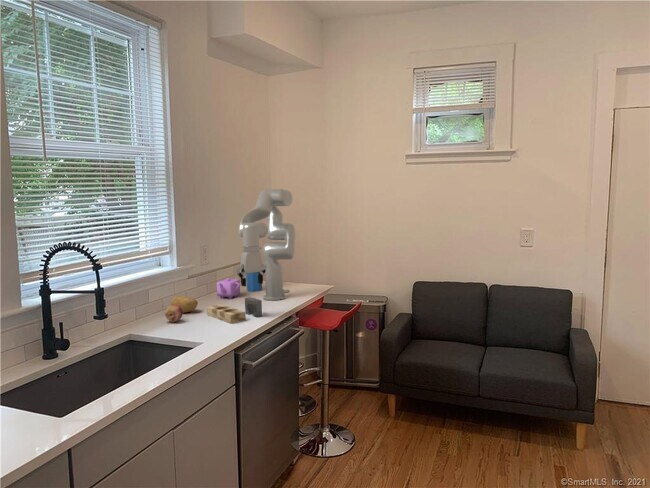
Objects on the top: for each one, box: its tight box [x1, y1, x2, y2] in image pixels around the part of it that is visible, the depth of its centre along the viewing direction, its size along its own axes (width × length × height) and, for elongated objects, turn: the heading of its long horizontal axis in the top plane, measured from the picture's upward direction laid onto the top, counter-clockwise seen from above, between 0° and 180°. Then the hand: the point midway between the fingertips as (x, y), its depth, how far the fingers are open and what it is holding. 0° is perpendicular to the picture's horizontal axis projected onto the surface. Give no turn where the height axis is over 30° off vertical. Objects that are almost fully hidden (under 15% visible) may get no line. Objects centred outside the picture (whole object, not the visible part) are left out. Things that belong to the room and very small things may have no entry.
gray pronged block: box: [244, 296, 263, 318], centre depth 242 cm, size 10×3×8 cm, turn 42°
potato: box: [170, 295, 198, 314], centre depth 250 cm, size 10×14×8 cm
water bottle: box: [245, 273, 263, 293], centre depth 299 cm, size 9×9×25 cm
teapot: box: [216, 277, 241, 300], centre depth 282 cm, size 15×13×11 cm
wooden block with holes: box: [206, 303, 246, 324], centre depth 238 cm, size 8×22×4 cm, turn 42°
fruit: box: [164, 304, 183, 323], centre depth 232 cm, size 8×8×8 cm
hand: (252, 284), depth 240 cm, fingers open, 9 cm apart
